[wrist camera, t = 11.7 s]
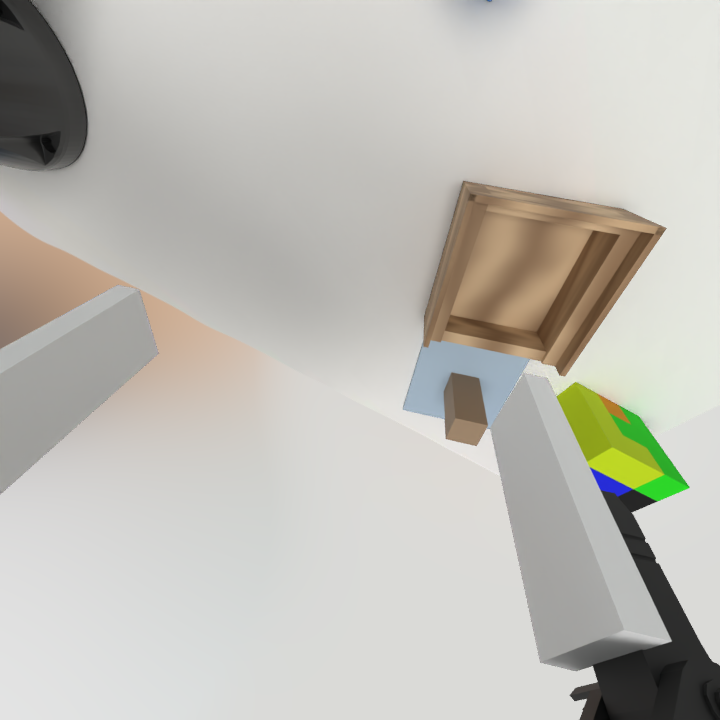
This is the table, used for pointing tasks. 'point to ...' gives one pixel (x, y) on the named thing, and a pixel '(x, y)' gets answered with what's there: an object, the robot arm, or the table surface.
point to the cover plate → (462, 363)
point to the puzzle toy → (619, 449)
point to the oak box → (532, 272)
